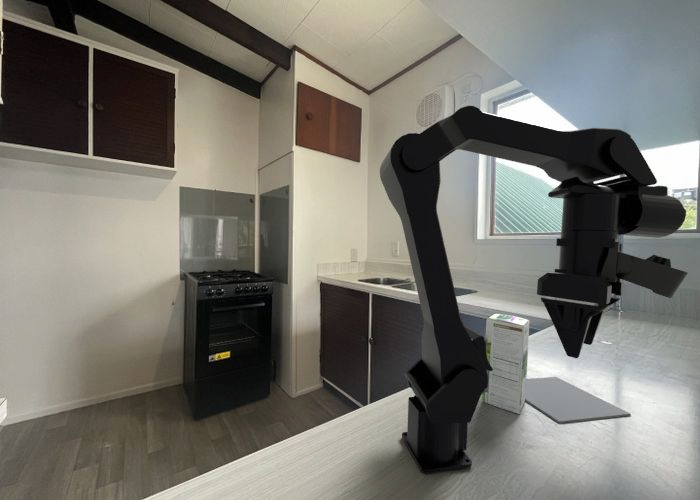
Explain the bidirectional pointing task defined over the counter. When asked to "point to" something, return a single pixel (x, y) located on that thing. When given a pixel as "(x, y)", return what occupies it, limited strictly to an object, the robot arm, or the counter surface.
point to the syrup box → (506, 361)
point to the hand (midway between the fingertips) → (580, 349)
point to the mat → (567, 401)
